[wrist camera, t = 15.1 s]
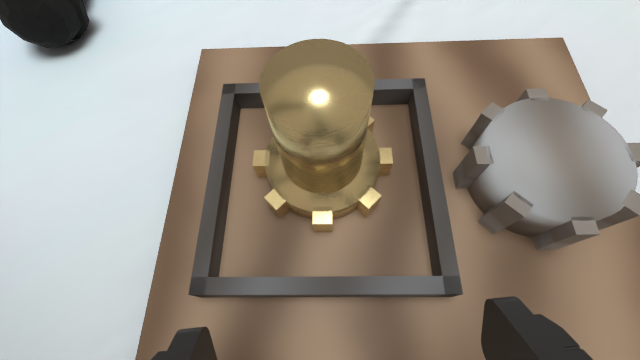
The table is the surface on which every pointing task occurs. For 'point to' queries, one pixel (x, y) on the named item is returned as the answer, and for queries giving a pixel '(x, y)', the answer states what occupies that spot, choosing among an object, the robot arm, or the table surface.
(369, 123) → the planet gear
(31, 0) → the microphone
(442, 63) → the carrier plate
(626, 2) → the table surface
